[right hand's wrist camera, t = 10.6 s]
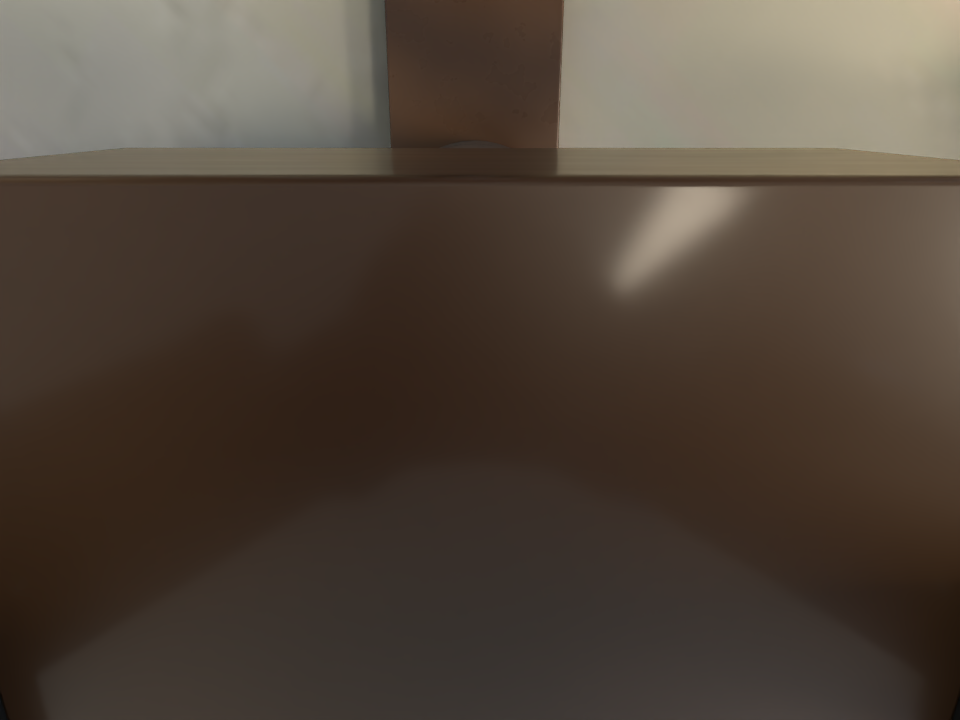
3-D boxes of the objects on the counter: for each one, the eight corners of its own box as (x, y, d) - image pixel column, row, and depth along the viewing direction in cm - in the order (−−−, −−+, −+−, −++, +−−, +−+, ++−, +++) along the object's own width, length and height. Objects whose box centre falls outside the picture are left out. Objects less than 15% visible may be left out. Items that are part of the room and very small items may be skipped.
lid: (836, 148, 10) (1128, 175, 6) (742, 697, 14) (872, 986, 9) (123, 147, 10) (-171, 175, 6) (217, 696, 14) (87, 985, 9)
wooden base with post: (358, -388, 26) (255, -815, 14) (589, -387, 26) (685, -813, 14) (392, 342, 37) (350, 458, 25) (557, 342, 37) (598, 458, 25)
